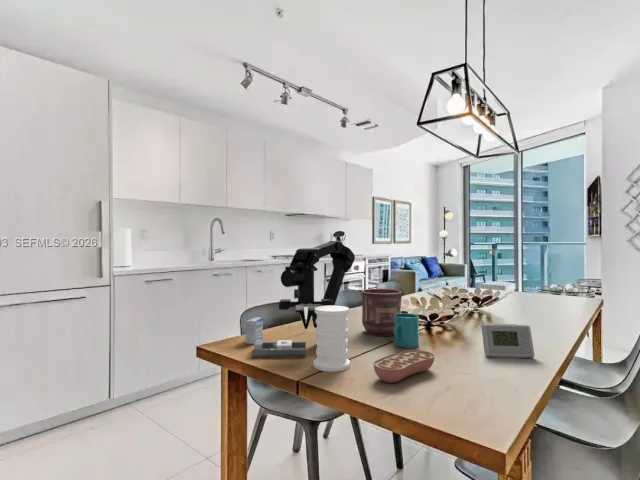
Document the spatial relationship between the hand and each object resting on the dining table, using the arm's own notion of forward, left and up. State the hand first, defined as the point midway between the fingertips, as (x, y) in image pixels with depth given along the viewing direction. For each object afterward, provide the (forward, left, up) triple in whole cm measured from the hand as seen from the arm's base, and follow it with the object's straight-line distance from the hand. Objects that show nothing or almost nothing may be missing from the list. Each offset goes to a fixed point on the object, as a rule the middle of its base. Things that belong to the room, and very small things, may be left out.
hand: (306, 328), depth 131 cm
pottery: (-33, -28, -9) cm, 44 cm away
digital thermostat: (-69, +7, -9) cm, 70 cm away
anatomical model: (-28, +24, -9) cm, 38 cm away
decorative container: (-8, +14, -9) cm, 18 cm away
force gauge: (+8, +1, -7) cm, 11 cm away
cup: (-37, -7, -9) cm, 39 cm away
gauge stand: (+9, 0, -8) cm, 12 cm away
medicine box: (+20, -16, -9) cm, 27 cm away
